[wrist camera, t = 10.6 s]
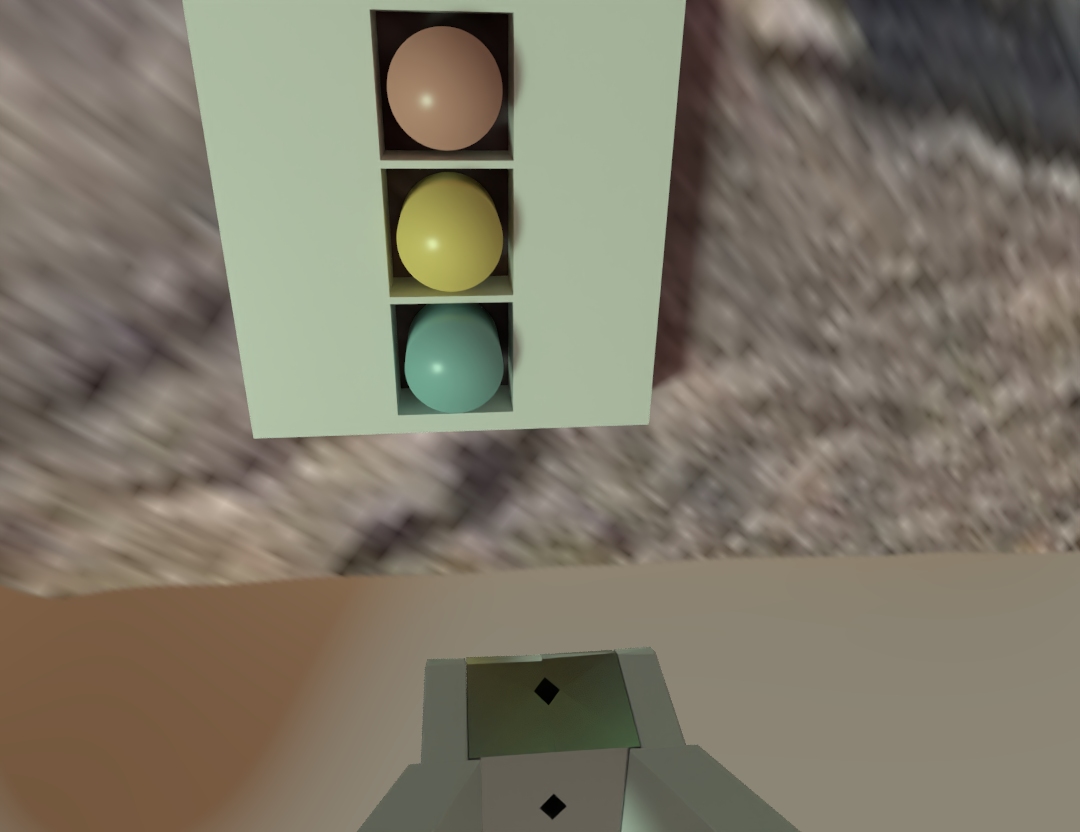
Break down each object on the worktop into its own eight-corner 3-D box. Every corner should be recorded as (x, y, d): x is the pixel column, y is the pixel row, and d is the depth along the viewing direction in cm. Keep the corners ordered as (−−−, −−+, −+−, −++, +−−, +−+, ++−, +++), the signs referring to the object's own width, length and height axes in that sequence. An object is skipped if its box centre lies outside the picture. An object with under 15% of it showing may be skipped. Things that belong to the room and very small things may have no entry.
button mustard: (497, 171, 33) (502, 186, 30) (497, 268, 35) (503, 290, 32) (397, 171, 33) (393, 186, 30) (403, 269, 35) (399, 292, 32)
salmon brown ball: (496, 27, 31) (502, 27, 28) (497, 139, 33) (502, 150, 30) (388, 25, 30) (382, 24, 27) (395, 139, 32) (390, 150, 29)
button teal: (497, 296, 36) (503, 321, 33) (498, 380, 38) (503, 411, 34) (405, 297, 35) (401, 323, 32) (410, 382, 37) (407, 414, 34)
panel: (666, -8, 31) (686, -12, 29) (634, 397, 39) (648, 424, 37) (202, -20, 30) (178, -25, 27) (267, 409, 37) (253, 438, 35)
